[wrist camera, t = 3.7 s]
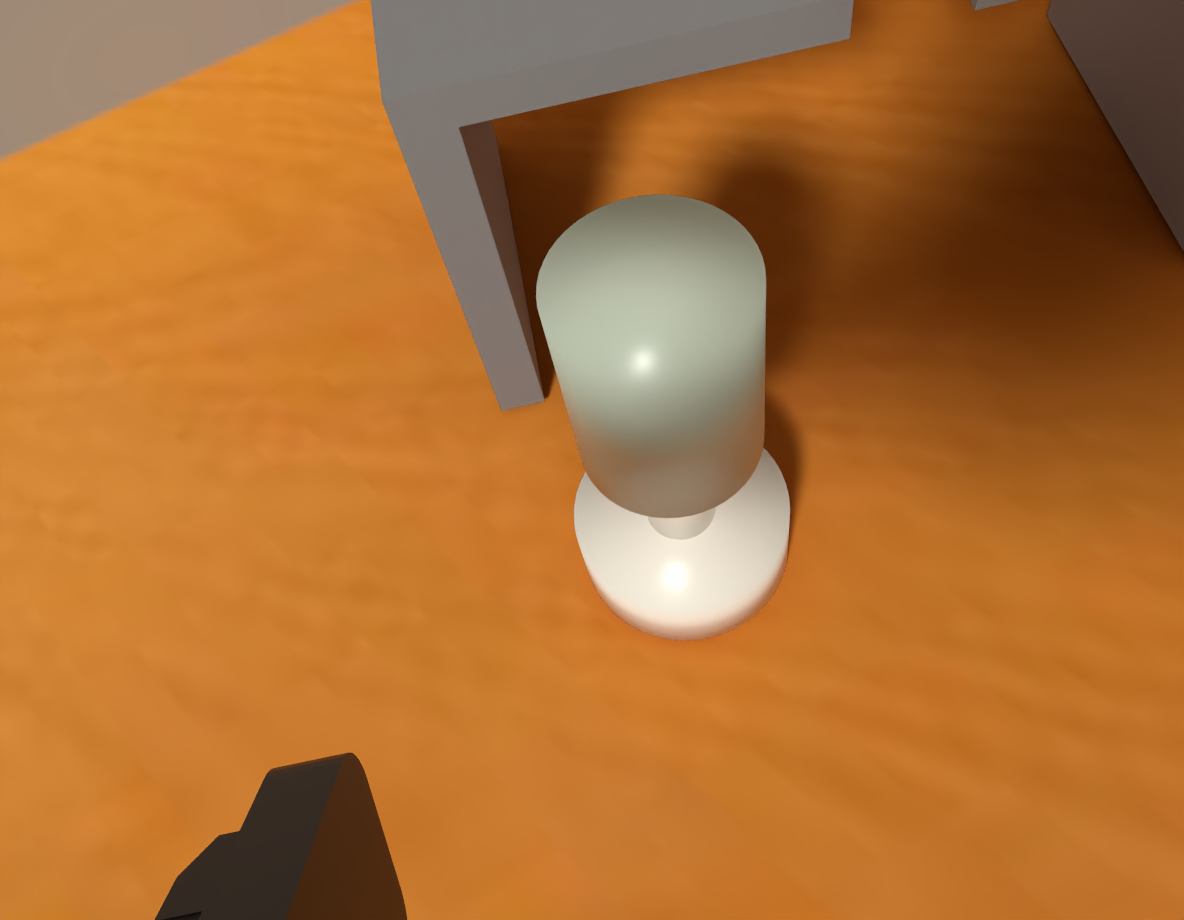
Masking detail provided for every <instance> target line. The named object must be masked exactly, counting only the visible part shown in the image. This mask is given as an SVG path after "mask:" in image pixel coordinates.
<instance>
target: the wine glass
mask: <svg viewBox="0 0 1184 920" xmlns="http://www.w3.org/2000/svg"><path fill="white" fill-rule="evenodd" d="M536 301H537V309H538V312H539V316H540V319H541V323H542V326H543V330H544V333H545V337H546V340H547V343H548V347H549V350H550V354H551V357H552V361H553V364H554V368H555V371H556V374H557V378H558V381H559V385H560V388H561V392H562V395H563V399H564V402H565V405H566V409H567V412H568V416H569V419H570V423H571V426H572V430H573V433H574V436H575V440H576V443H577V447H578V450H579V454H580V457H581V461H582V464H583V467H584V469H585V474H584V476H583V478H582V480H581V482H580V485H579V488H578V491H577V494H576V500H575V506H574V524H575V532H576V536H577V539H578V543H579V546H580V549H581V552H582V555H583V558H584V561H585V564H586V567H587V570H588V573H589V575H590V578H591V581H592V583H593V585H594V588H595V590H596V591H597V593H598V595H599V596H600V598H601V599H602V601H603V602H604V603H605V604H606V606H607V607H608V608H609V609H610V610H611V611H612V612H613V613H614V614H615V615H616V616H617V617H618V618H620V619H621V620H623V621H624V622H625V623H627V624H628V625H630V626H632V627H634V628H636V629H637V630H639V631H641V632H644V633H647V634H649V635H652V636H655V637H660V638H664V639H670V640H680V641H684V640H700V639H706V638H711V637H714V636H718V635H721V634H724V633H726V632H729V631H731V630H733V629H735V628H737V627H739V626H740V625H742V624H744V623H746V622H747V621H748V620H750V619H751V618H752V617H753V616H755V615H756V614H757V613H758V612H759V611H760V610H761V609H762V608H763V607H764V606H765V605H766V604H767V603H768V601H769V600H770V599H771V597H772V596H773V595H774V593H775V591H776V589H777V587H778V586H779V584H780V582H781V579H782V576H783V574H784V571H785V567H786V562H787V555H788V540H789V523H790V500H789V494H788V490H787V485H786V483H785V480H784V477H783V475H782V473H781V471H780V469H779V467H778V465H777V464H776V462H775V461H774V459H773V458H772V457H771V455H770V454H769V453H768V451H767V450H765V449H764V448H763V446H764V433H765V344H766V271H765V265H764V261H763V257H762V254H761V252H760V250H759V247H758V245H757V244H756V242H755V240H754V239H753V237H752V236H751V234H750V233H749V232H748V231H747V230H746V229H745V227H744V226H743V225H742V224H740V223H739V222H738V221H737V220H736V219H735V218H734V217H732V216H731V215H729V214H727V213H726V212H724V211H723V210H721V209H719V208H717V207H715V206H713V205H711V204H708V203H705V202H702V201H700V200H696V199H692V198H688V197H683V196H675V195H644V196H637V197H632V198H626V199H623V200H619V201H616V202H613V203H610V204H608V205H605V206H603V207H600V208H598V209H596V210H594V211H592V212H590V213H588V214H587V215H585V216H584V217H582V218H581V219H579V220H578V221H576V222H575V223H574V224H573V225H571V226H570V227H569V228H568V229H567V230H566V231H565V232H564V233H563V234H562V235H561V236H560V237H559V238H558V239H557V240H556V242H555V243H554V244H553V246H552V247H551V248H550V250H549V252H548V253H547V255H546V257H545V259H544V261H543V263H542V266H541V269H540V271H539V275H538V280H537V285H536Z"/></svg>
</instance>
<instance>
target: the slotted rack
mask: <svg viewBox="0 0 1184 920" xmlns="http://www.w3.org/2000/svg"><path fill="white" fill-rule="evenodd" d="M1014 1H1019V0H970V2H971V4H972V6H973V8H974V9H975V10H979V9H983V8H988V7H992V6H997V5H1001V4H1005V3H1010V2H1014ZM853 2H854V0H371V7H372V16H373V25H374V34H375V43H376V51H377V60H378V69H379V78H380V87H381V96H382V102H383V105H384V107H385V110H386V113H387V115H388V118H389V120H390V123H391V126H392V128H393V131H394V133H395V136H396V139H397V141H398V144H399V146H400V149H401V152H402V154H403V157H404V159H405V162H406V164H407V167H408V170H409V172H410V175H411V177H412V180H413V183H414V185H415V188H416V190H417V193H418V196H419V198H420V201H421V203H422V206H423V209H424V211H425V214H426V216H427V219H428V222H429V224H430V227H431V229H432V232H433V234H434V237H435V240H436V242H437V245H438V247H439V250H440V253H441V255H442V258H443V260H444V263H445V266H446V268H447V271H448V273H449V276H450V279H451V281H452V284H453V286H454V289H455V292H456V294H457V297H458V299H459V302H460V305H461V307H462V310H463V312H464V315H465V317H466V320H467V323H468V325H469V328H470V330H471V333H472V336H473V338H474V341H475V343H476V346H477V349H478V351H479V354H480V356H481V359H482V362H483V364H484V367H485V369H486V372H487V375H488V377H489V380H490V382H491V385H492V387H493V390H494V393H495V395H496V398H497V400H498V403H499V406H500V408H501V411H503V410H508V409H512V408H517V407H521V406H526V405H530V404H535V403H539V402H544V401H545V400H544V395H543V389H542V384H541V379H540V373H539V368H538V362H537V357H536V351H535V346H534V340H533V335H532V329H531V324H530V318H529V313H528V307H527V302H526V297H525V291H524V286H523V280H522V275H521V269H520V264H519V258H518V253H517V247H516V242H515V236H514V231H513V225H512V220H511V215H510V209H509V204H508V198H507V193H506V187H505V182H504V176H503V171H502V165H501V160H500V154H499V149H498V143H497V139H496V135H495V131H494V128H493V124H492V121H491V120H493V119H497V118H502V117H506V116H510V115H515V114H519V113H524V112H528V111H533V110H537V109H541V108H546V107H550V106H555V105H559V104H564V103H568V102H572V101H577V100H581V99H586V98H590V97H594V96H599V95H603V94H608V93H612V92H617V91H621V90H625V89H630V88H634V87H639V86H643V85H647V84H652V83H656V82H661V81H665V80H670V79H674V78H678V77H683V76H687V75H692V74H696V73H701V72H705V71H709V70H714V69H718V68H723V67H727V66H731V65H736V64H740V63H745V62H749V61H754V60H758V59H762V58H767V57H771V56H776V55H780V54H784V53H789V52H793V51H798V50H802V49H807V48H811V47H815V46H820V45H824V44H829V43H833V42H838V41H842V40H846V39H850V32H851V22H852V12H853ZM1047 17H1048V19H1049V21H1050V22H1051V24H1052V26H1053V27H1054V29H1055V31H1056V33H1057V34H1058V36H1059V38H1060V39H1061V41H1062V43H1063V45H1064V46H1065V48H1066V50H1067V52H1068V53H1069V55H1070V57H1071V58H1072V60H1073V62H1074V64H1075V65H1076V67H1077V69H1078V71H1079V72H1080V74H1081V76H1082V77H1083V79H1084V81H1085V83H1086V84H1087V86H1088V88H1089V89H1090V91H1091V93H1092V95H1093V96H1094V98H1095V100H1096V102H1097V103H1098V105H1099V107H1100V108H1101V110H1102V112H1103V114H1104V115H1105V117H1106V119H1107V121H1108V122H1109V124H1110V126H1111V127H1112V129H1113V131H1114V133H1115V134H1116V136H1117V138H1118V139H1119V141H1120V143H1121V145H1122V146H1123V148H1124V150H1125V152H1126V153H1127V155H1128V157H1129V158H1130V160H1131V162H1132V164H1133V165H1134V167H1135V169H1136V171H1137V172H1138V174H1139V176H1140V177H1141V179H1142V181H1143V183H1144V184H1145V186H1146V188H1147V189H1148V191H1149V193H1150V195H1151V196H1152V198H1153V200H1154V202H1155V203H1156V205H1157V207H1158V208H1159V210H1160V212H1161V214H1162V215H1163V217H1164V219H1165V221H1166V222H1167V224H1168V226H1169V227H1170V229H1171V231H1172V233H1173V234H1174V236H1175V238H1176V239H1177V241H1178V243H1179V245H1180V246H1181V248H1182V250H1183V252H1184V0H1051V2H1050V6H1049V9H1048V13H1047Z"/></svg>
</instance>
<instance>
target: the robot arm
mask: <svg viewBox="0 0 1184 920" xmlns="http://www.w3.org/2000/svg"><path fill="white" fill-rule="evenodd" d="M155 920H407V915H406V909H405V904H404V899H403V895H402V891H401V888H400V885H399V881H398V878H397V875H396V872H395V868H394V865H393V862H392V859H391V855H390V852H389V849H388V846H387V842H386V839H385V836H384V833H383V829H382V826H381V823H380V819H379V816H378V813H377V810H376V806H375V803H374V800H373V797H372V793H371V790H370V787H369V784H368V780H367V777H366V774H365V771H364V769H363V767H362V765H361V763H360V761H359V759H358V758H357V757H356V755H354V754H353V753H345V754H340V755H335V756H330V757H325V758H321V759H316V760H311V761H306V762H301V763H297V764H292V765H287V766H282V767H277V768H273V769H271V770H270V771H269V772H268V773H267V775H266V776H265V778H264V780H263V782H262V785H261V787H260V789H259V791H258V793H257V795H256V797H255V800H254V802H253V804H252V806H251V808H250V810H249V812H248V815H247V817H246V819H245V821H244V823H243V825H242V827H241V830H240V831H238V832H233V833H228V834H223V835H219V836H218V837H217V838H216V839H215V840H214V841H213V842H212V843H211V844H210V845H209V846H208V847H207V848H206V849H205V850H204V851H203V852H202V853H201V854H200V855H199V856H198V857H197V858H196V859H195V860H194V861H193V862H192V863H191V864H190V865H189V866H188V867H187V868H186V869H185V870H184V871H183V872H182V873H181V874H180V875H179V876H178V877H177V878H176V880H175V882H174V884H173V886H172V888H171V890H170V892H169V894H168V895H167V897H166V899H165V901H164V903H163V905H162V907H161V909H160V911H159V913H158V914H157V916H156V918H155Z"/></svg>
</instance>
